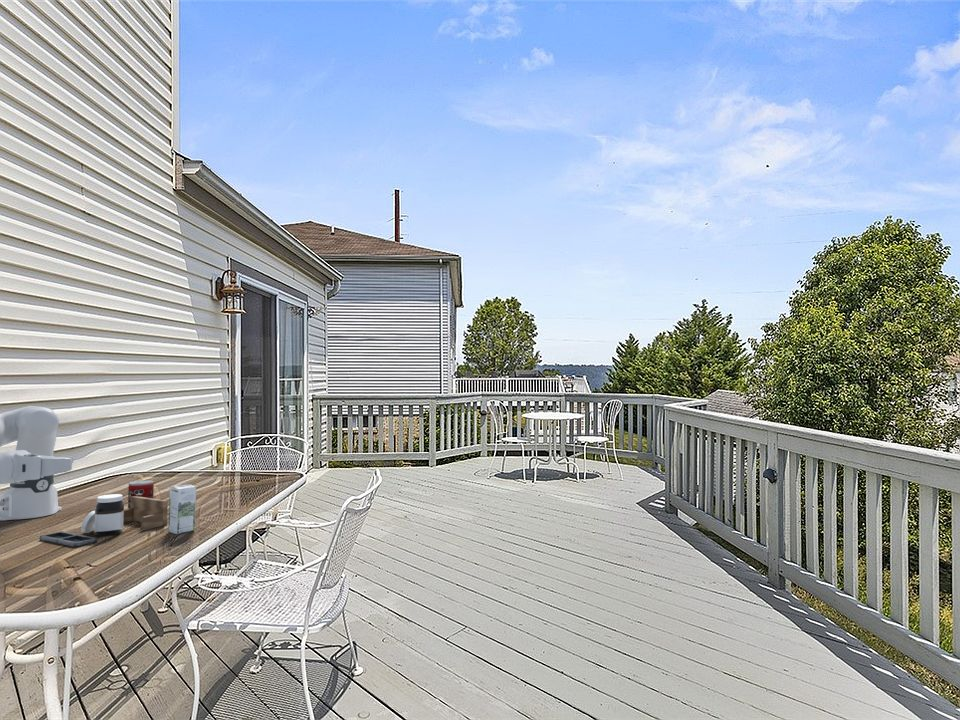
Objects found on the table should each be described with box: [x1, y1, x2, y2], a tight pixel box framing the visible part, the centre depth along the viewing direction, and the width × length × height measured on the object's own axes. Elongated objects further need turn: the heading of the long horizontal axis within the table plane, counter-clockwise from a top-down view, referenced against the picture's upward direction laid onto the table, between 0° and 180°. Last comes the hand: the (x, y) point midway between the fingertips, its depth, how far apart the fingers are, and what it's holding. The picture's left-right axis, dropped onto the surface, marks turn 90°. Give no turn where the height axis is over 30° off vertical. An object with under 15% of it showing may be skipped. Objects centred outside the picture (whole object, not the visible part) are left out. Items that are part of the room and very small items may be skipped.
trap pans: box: [39, 530, 98, 548], centre depth 168 cm, size 18×6×1 cm, turn 65°
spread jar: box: [80, 493, 125, 537], centre depth 177 cm, size 12×11×12 cm
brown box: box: [123, 496, 169, 531], centre depth 188 cm, size 17×8×8 cm, turn 65°
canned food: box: [127, 479, 155, 509], centre depth 206 cm, size 8×8×11 cm
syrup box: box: [167, 484, 197, 535], centre depth 180 cm, size 6×6×14 cm
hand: (70, 460), depth 169 cm, fingers closed
